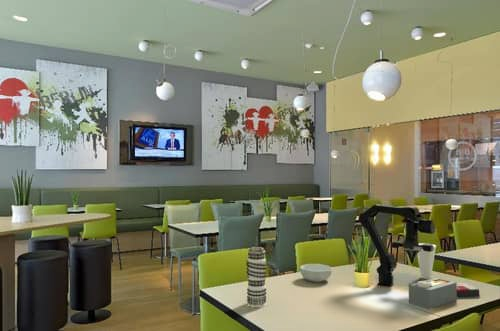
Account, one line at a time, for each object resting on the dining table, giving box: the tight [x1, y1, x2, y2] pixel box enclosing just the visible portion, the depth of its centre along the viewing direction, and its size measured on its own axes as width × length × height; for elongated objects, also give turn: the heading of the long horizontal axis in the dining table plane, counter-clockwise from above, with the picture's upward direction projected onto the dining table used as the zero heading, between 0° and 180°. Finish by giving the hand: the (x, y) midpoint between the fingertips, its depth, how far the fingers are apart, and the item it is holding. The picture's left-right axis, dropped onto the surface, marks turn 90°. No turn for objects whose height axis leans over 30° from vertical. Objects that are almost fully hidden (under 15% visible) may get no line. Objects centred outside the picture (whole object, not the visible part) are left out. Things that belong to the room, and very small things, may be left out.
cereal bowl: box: [299, 263, 333, 283], centre depth 212 cm, size 17×17×7 cm
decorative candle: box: [245, 246, 268, 308], centre depth 173 cm, size 9×9×25 cm
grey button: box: [416, 280, 430, 289], centre depth 172 cm, size 5×5×3 cm
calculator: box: [456, 282, 480, 299], centre depth 187 cm, size 11×4×15 cm
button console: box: [408, 277, 458, 310], centre depth 176 cm, size 10×21×8 cm, turn 123°
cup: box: [416, 242, 437, 280], centre depth 216 cm, size 11×11×18 cm
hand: (412, 263), depth 194 cm, fingers closed
